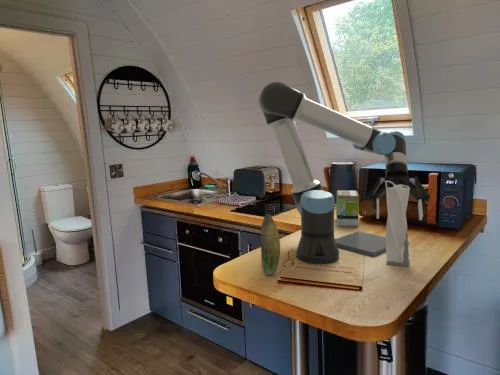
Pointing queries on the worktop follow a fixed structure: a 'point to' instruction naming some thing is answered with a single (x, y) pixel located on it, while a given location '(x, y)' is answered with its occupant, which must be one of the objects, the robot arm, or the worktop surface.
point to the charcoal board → (363, 243)
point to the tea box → (347, 208)
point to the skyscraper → (397, 225)
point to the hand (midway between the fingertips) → (399, 217)
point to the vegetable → (269, 245)
